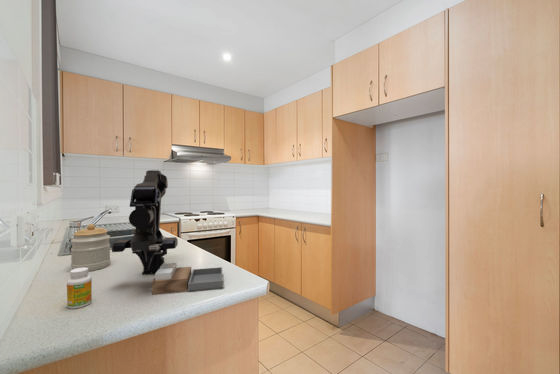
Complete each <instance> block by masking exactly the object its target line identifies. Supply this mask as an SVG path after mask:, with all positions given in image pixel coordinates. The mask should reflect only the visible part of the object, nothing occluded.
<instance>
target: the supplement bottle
mask: <svg viewBox="0 0 560 374" xmlns="http://www.w3.org/2000/svg"><path fill="white" fill-rule="evenodd" d="M69 276H70V278H68V280H67V281H66V305H67V308H68V309H72V310H73V309H80V308H83V307H86V306H89V305H90V304H91V303H92V295H93V293H92V288H93V287H92V276H91V275H89V271H88V268H77V269H73V270H72V269H70V271H69Z"/></svg>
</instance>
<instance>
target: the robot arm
mask: <svg viewBox="0 0 560 374" xmlns="http://www.w3.org/2000/svg"><path fill="white" fill-rule="evenodd" d="M168 183H169V182H168V177H167V176H166V175H164V174H163V173H162V171H161V170H157V169H156V170H153V169H149V170H146V173H145V175H144V179H143V180H142V182H140V183H137V184H136V185H134V188H133V189H132V190H131V195H130V202H129V207H130V208H135V209H134V210H132V211H131V212H130V213H129V216H128V222H129V224H130V225H131V226H132V227H135V228H134V229H135V230H134V231H135V232H134V235H133V236H132V237H131V239H118V240H116V241H115V242H113V243H112V245H111V253H120V252H121V253H122V252H124V251H125V250H126V249H131V253H132V254H133V255H134V254H135V255H136V256H138V258H139V261H140V263H141V264H142V266H143V271H142V273H141V274H142V275H152V274H155V273H156V272H157V271H158V269H160V267H161V265H162V264H165V257H164V256H166V255H167V254H168V250H174V249H176V248H177V246H178V245H179V243H178V241H179V240H178V238H177V237H176V236H174V237H173V236H171V237H165V238H164V236H163V233H162V232H161V230H160V227H161V224H160V223H161V209H162V198H163V197H164V196H165V194H166V191H167V189H168V186H169V185H168Z"/></svg>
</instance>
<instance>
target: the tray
mask: <svg viewBox="0 0 560 374" xmlns="http://www.w3.org/2000/svg"><path fill="white" fill-rule="evenodd" d="M223 282H224V281H223V267H222V266H221V267H220V266H219V267H210V268H209V267H207V268H206V267H205V268H195V269H194V268H193V269H191V276H190V279H189V282H188V291H187V292H188V293H191V292H201V291H202V292H203V291H213V290H222V289H223Z"/></svg>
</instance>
